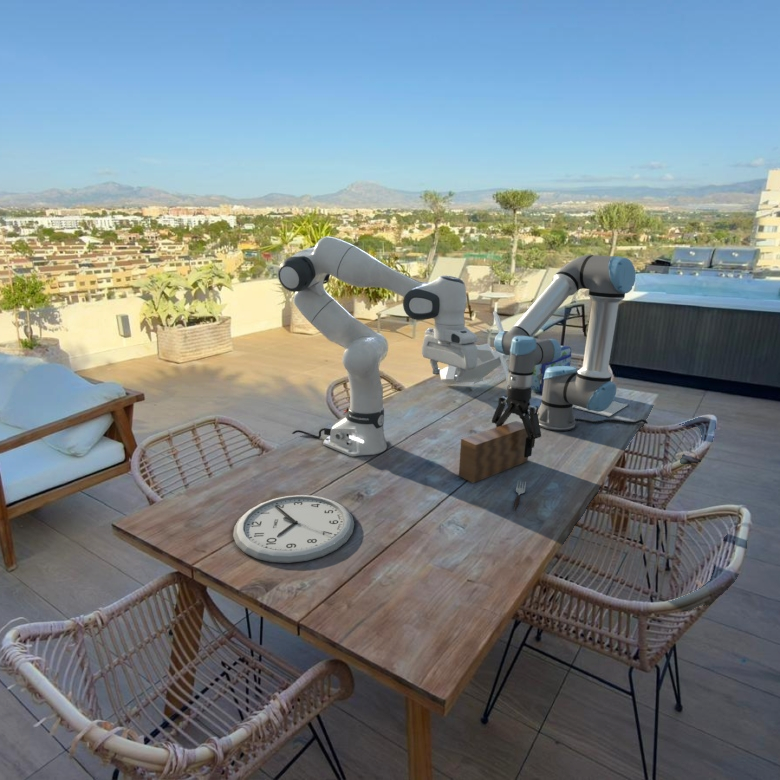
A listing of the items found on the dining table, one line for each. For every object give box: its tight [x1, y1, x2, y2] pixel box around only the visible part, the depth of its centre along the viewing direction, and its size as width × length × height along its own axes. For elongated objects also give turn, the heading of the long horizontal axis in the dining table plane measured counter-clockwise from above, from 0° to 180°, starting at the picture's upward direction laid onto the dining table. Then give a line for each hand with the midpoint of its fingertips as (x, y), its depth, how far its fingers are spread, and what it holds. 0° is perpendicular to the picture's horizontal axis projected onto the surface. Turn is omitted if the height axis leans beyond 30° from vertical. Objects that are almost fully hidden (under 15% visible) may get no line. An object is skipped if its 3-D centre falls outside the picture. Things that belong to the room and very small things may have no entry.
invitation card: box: [573, 400, 629, 418], centre depth 226 cm, size 21×1×15 cm
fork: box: [514, 479, 527, 511], centre depth 147 cm, size 3×16×2 cm, turn 160°
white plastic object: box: [439, 310, 510, 386], centre depth 245 cm, size 37×45×31 cm
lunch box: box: [531, 345, 572, 394], centre depth 247 cm, size 26×11×21 cm, turn 134°
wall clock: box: [232, 494, 355, 564], centre depth 132 cm, size 30×2×30 cm
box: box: [458, 420, 529, 484], centre depth 165 cm, size 26×6×12 cm, turn 128°
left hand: (446, 377), depth 158 cm, fingers open, 8 cm apart
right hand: (513, 450), depth 171 cm, fingers open, 11 cm apart
